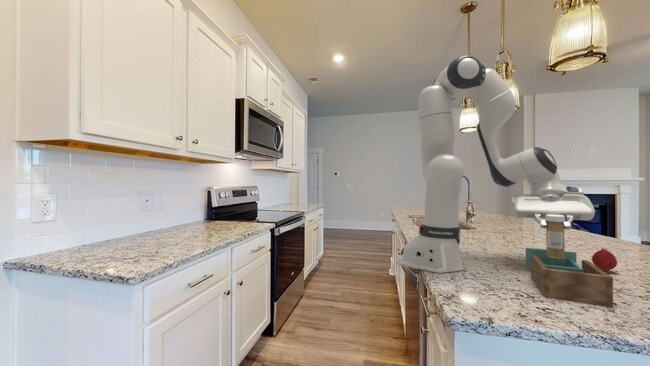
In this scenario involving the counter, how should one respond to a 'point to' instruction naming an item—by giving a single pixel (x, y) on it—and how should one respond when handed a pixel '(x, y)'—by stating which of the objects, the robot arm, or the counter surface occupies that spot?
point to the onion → (604, 260)
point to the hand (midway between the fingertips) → (555, 227)
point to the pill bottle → (555, 236)
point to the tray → (554, 260)
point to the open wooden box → (574, 283)
